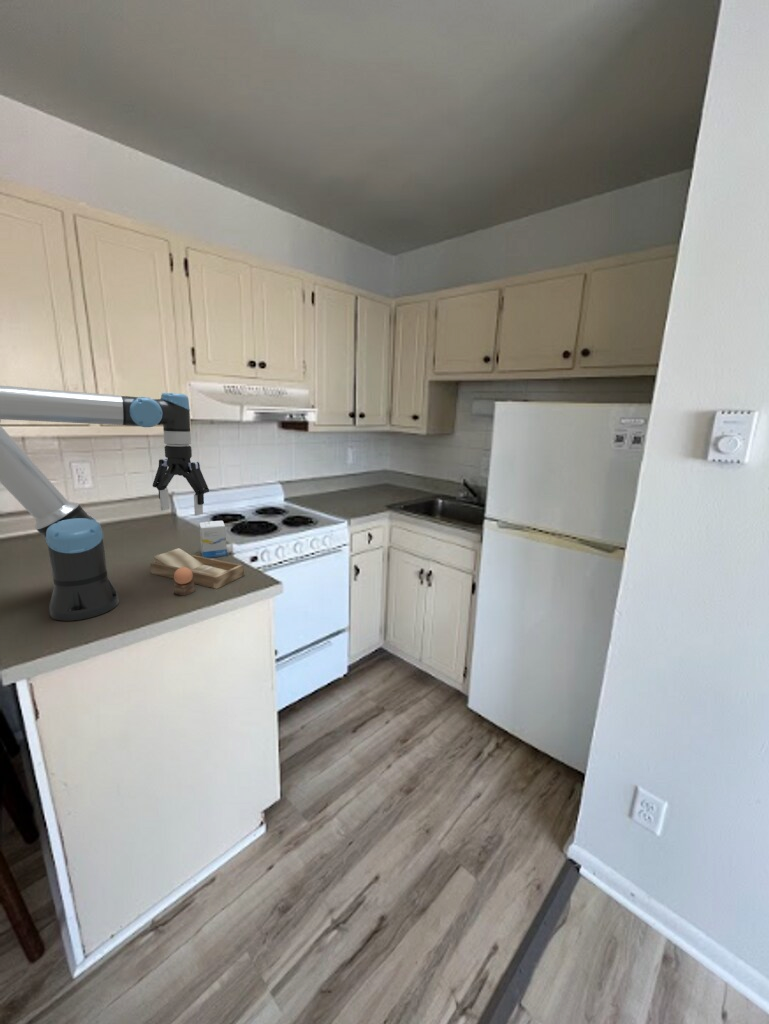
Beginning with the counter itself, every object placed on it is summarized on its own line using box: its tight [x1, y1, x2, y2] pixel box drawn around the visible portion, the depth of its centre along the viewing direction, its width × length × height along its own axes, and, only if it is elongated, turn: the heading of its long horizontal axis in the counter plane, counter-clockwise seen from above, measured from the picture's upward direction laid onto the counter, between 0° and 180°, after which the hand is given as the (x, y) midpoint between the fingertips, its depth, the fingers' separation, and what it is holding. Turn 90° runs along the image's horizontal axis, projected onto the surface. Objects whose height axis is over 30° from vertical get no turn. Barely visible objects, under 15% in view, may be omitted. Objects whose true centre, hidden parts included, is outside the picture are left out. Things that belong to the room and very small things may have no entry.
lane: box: [149, 547, 245, 590], centre depth 139 cm, size 12×28×6 cm, turn 67°
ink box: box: [198, 520, 228, 559], centre depth 158 cm, size 9×8×12 cm
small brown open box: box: [173, 581, 195, 597], centre depth 125 cm, size 4×4×3 cm
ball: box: [174, 567, 193, 584], centre depth 125 cm, size 5×5×5 cm
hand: (181, 512), depth 136 cm, fingers open, 13 cm apart
